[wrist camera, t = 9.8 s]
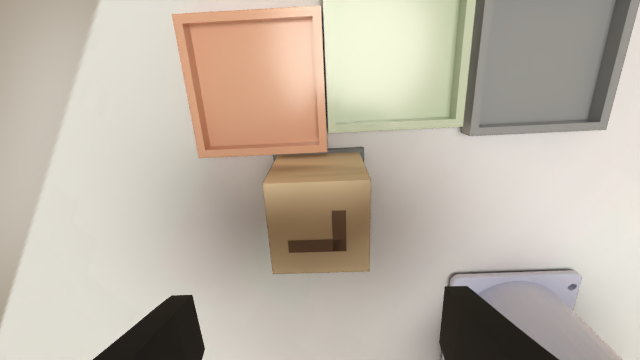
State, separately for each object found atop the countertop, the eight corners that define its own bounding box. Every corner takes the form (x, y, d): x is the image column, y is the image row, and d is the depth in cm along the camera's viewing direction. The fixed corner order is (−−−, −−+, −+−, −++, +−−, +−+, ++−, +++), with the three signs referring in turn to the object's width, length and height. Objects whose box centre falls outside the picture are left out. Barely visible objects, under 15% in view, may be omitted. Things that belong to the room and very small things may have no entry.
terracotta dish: (327, 146, 17) (327, 152, 16) (206, 152, 18) (198, 158, 17) (321, 9, 15) (320, 5, 14) (182, 17, 15) (171, 14, 14)
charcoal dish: (588, 125, 17) (606, 129, 16) (460, 131, 17) (469, 136, 16) (624, -21, 14) (647, -28, 13) (475, -12, 15) (487, -18, 14)
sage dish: (454, 123, 17) (462, 126, 16) (328, 129, 17) (328, 133, 16) (468, -24, 15) (479, -31, 14) (322, -15, 15) (322, -21, 14)
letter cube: (359, 225, 19) (369, 271, 14) (284, 227, 19) (272, 274, 15) (359, 151, 17) (370, 180, 13) (277, 155, 17) (262, 184, 13)
